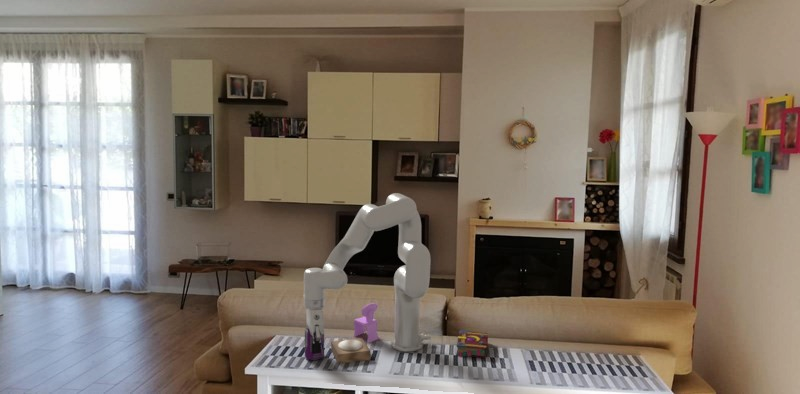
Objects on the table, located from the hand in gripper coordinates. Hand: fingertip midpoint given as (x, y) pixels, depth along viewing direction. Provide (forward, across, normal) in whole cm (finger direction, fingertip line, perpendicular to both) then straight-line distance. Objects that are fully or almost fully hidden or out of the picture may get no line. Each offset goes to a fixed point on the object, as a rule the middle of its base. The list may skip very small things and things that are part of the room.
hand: (314, 348), depth 198 cm
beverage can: (+4, 0, 0) cm, 4 cm away
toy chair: (+4, +12, -23) cm, 26 cm away
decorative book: (+4, -11, -59) cm, 60 cm away
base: (+3, -2, -13) cm, 14 cm away
